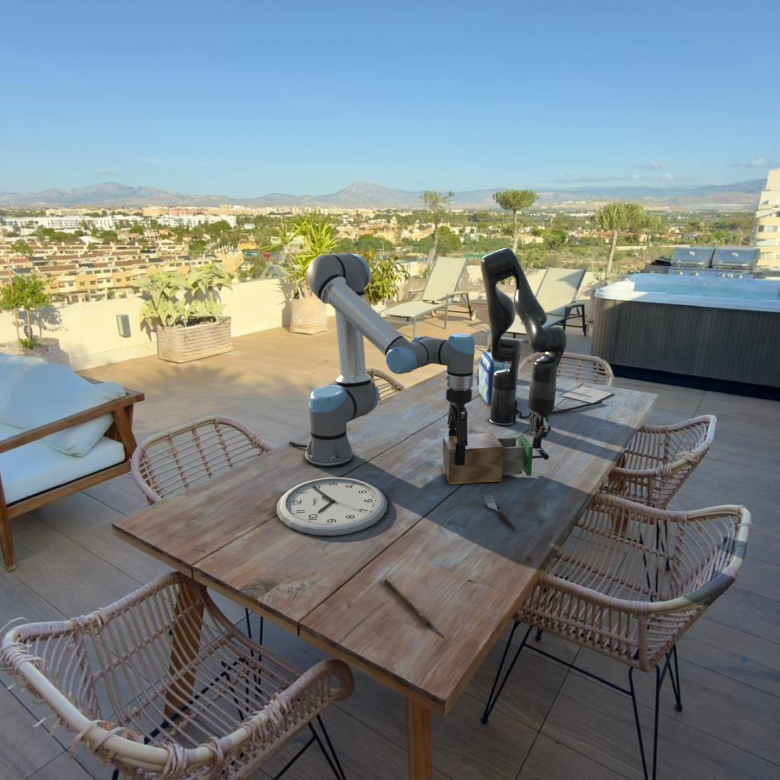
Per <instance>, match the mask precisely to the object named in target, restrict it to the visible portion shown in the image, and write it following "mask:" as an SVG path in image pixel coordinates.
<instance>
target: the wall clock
mask: <svg viewBox="0 0 780 780" xmlns="http://www.w3.org/2000/svg"><path fill="white" fill-rule="evenodd" d="M387 509H388V500H387V498H386V496H385V494H384V493H383V492H382V491H381V490H380V489H379V488H377V487H376V486H374V485H372V484H371V483H369V482H365V481H362V480H359V479H355V478H349V477H338V476H337V477H335V476H333V477H332V476H331V477H322V478H317V479H312V480H307V481H305V482H302V483H299V484H297V485H295V486H293V487H292V488H290V489H288V490H287V491H286V492H285V493H284V494H283V495H281V496H280V498H279V499H278V502H277V503H276V515H277V517H278V518H279V520H280V521H281V522H282V523H283V524H285V525H286V526H287V527H288V528H290V529H293V530H295V531H297V532H299V533H303V534H308V535H312V536H327V537H328V536H329V537H331V536H332V537H333V536H342V535H350V534H352V533H356V532H361V531H363V530H366V529H368V528H369V527H372V526H373V525H375V524H376V523H378V522H379V521H380V520H381V519H382V518H383V517H384V516H385V514H386V512H387Z"/></svg>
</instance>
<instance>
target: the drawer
mask: <svg viewBox="0 0 780 780" xmlns="http://www.w3.org/2000/svg"><path fill="white" fill-rule="evenodd" d="M496 438H497V439H498V440H499V442H500V443H501V445H502V446H503V457H502V476H511V475H522V474H523V472H524V473H525V475H526V476H527V477H529V476H532V467H533V459H543V460H544V461H548V460H549V459H550V455H549V454H548V453H547V452H546V451H545V449H544V448H543V447H542V446H541V448H540V449H535V451H536V452H537V453H538V454H539V455H533V453H534V452H533V451H534V447H533V446H532V444H531V443H530V441H529V440H528V439H527V438H526V437H525V436H524V435H523V434H519V435H518V446H517V437H516V436H509V437H508V436H507V437H496Z"/></svg>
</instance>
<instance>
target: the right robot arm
mask: <svg viewBox="0 0 780 780" xmlns="http://www.w3.org/2000/svg"><path fill="white" fill-rule="evenodd" d="M479 265H480V272H481V277H482V281H483V287H484V291H485V298H486V313H487V320H488V325H489V332H490V343H491V356H492V359H493V360H494V361H496V362H501V363H508V364H509V365H508V366H509V367H507V368H505V369H501V370H497V371H495V372H494V374H493V385H492V398H491V404H490V410H489V411H490V413H489V414H490V415H489V422H490V423H491V424H494V425H497V426H511V425H513V424H516V423H517V416H519V418H520V419H528V421H529V428H530V429H529V430H530V432H532V444H531V445H532V446H533V447H534V448H533V450H536V449H540V448H541V447H542V441H543V439H546V437H547V436H548V434H549V433H550V431H551V430H552V427H551V425H548V423H549V415H553V414H560V413H564V412H569V411H574V410H578V409H581V408H586V407H590V406H594V405H600V404H603V401H602V400H599V401H597V402H594V403H589V402H588V403H585V404H581V405H576V406H572V407H569V408H564V409H558V410H554V409H555V402H556V393H557V378H558V369H559V365H560V363H561V360H562V359H563V356H564V354H565V350H566V348H567V344H568V337H567V336H568V335H567V334H566V331H565V330H564V328H562V327H560V326H549V327H548V326H547V327H543V326H544V325H545V324H546V323H547V322H548V315H547V313H546V311H545V310H544V308H543V306H542V305H541V303H540V302H539V300H538V298H537V297H536V295H535V294H534V292H533V289H532V288H531V285H530V283H529V281H528V279H527V276H526V274H525V272H524V269H523V268H522V265H521V263H520V261H519V259H518V257H517V255H516V253H515V252H514V251H513V250H512V249H511V248H510V247H505V248H501V249H499V250H496V251H493V252H491V253H489V254H486V255H484V256H483V257H482V258H481V259H480V263H479ZM509 278H513V279H514V283H515V289H514V297H513V299H512V298H511V297H510V296H509V295H508V294H506V293H505V292H504V291H502V290H500V289H499V287H498V286H497V284H498V283H500V282H503V281H505V280H507V279H509ZM515 314H516V315H517V316H518V318H519V320H520V321H521V323H522V324H523V326H524V330H525V333H526V338H527V342H528V345H529V347H530V348H531V349H532V350H533V351H534V352H536V353H538V354H543V355H542V356H541V357H540V358H538V359H535V360H533V361H534V362H533V363H532V370H531V379H530V384H529V390H528V391H529V393H528V400H527V401H528V402H527V409H528V410H530V411H531V412H528V415H527V416H526V415H525V416H523V413H522V411H520V410H519V409H518V399H517V388H518V377H519V367H520V360H521V353H522V343H521V341H520V340H519V339H515V338H504V337H502V336H503V335H505V334H506V332H507V331H508V330H510V328H511V327H512V326H513V324H514V322H515V319H516V315H515Z"/></svg>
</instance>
